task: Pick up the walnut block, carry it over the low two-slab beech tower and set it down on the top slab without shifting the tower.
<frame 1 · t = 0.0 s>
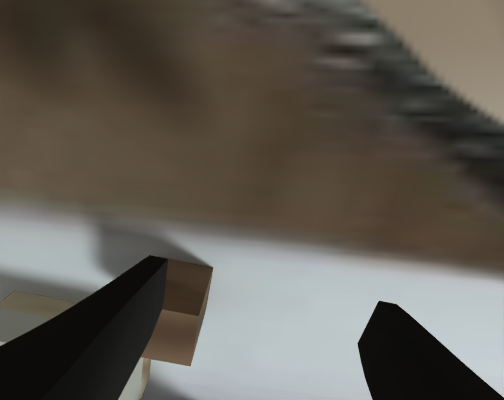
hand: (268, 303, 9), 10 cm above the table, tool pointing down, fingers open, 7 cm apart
walnut block: (182, 284, 22), on the table
slab bottom: (90, 331, 25), on the table, touching slab top
slab top: (72, 356, 22), point 2 cm above the table, touching slab bottom
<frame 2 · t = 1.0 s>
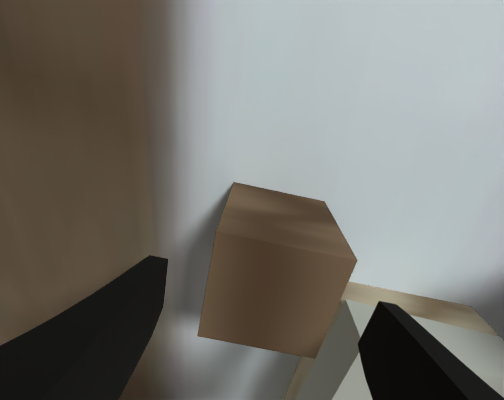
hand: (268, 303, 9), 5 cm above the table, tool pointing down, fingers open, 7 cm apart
walnut block: (268, 231, 14), on the table
slab bottom: (359, 356, 17), on the table, touching slab top
slab top: (372, 395, 15), point 2 cm above the table, touching slab bottom
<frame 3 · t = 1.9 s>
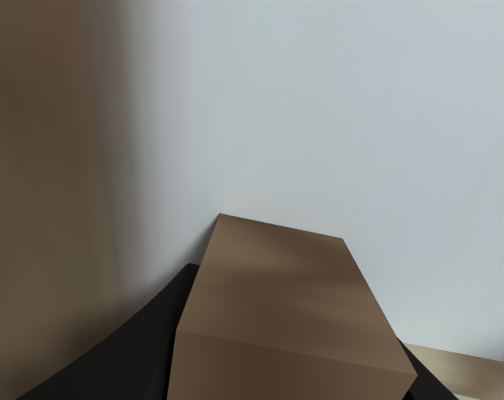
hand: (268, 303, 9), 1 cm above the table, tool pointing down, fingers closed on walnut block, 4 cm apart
walnut block: (267, 276, 10), on the table, touching gripper
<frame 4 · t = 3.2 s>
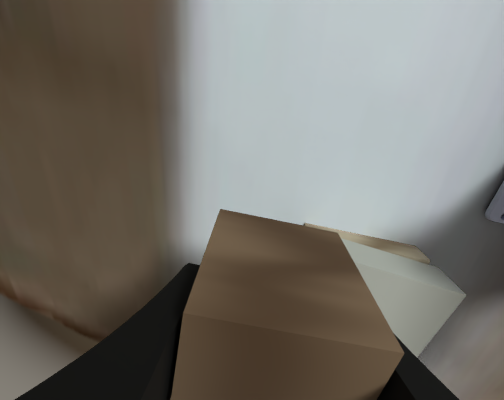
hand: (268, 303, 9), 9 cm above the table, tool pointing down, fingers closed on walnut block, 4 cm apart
walnut block: (266, 269, 11), point 7 cm above the table, touching gripper
slab bottom: (330, 294, 21), on the table
slab top: (340, 318, 19), point 2 cm above the table
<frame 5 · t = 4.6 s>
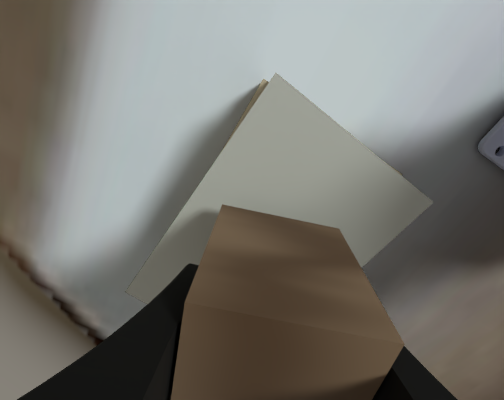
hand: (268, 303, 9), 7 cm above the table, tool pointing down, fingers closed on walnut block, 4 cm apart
walnut block: (267, 265, 11), point 5 cm above the table, touching gripper
slab bottom: (265, 208, 16), on the table, touching slab top
slab top: (263, 225, 14), point 2 cm above the table, touching slab bottom
when the fingers open (7 cm above the table, at t = 4.7 s): walnut block drops 1 cm, point 4 cm above the table.
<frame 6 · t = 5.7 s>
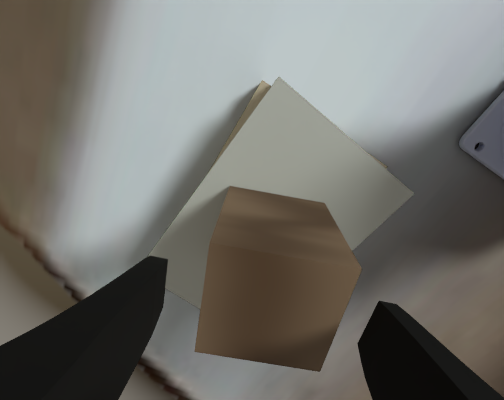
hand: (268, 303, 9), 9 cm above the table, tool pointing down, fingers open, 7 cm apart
walnut block: (267, 235, 13), point 4 cm above the table
slab bottom: (263, 199, 18), on the table, touching slab top
slab top: (263, 214, 15), point 2 cm above the table, touching slab bottom
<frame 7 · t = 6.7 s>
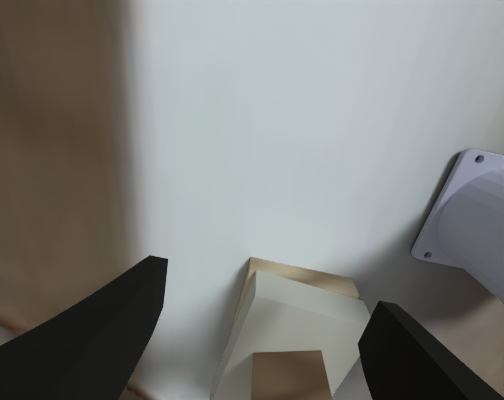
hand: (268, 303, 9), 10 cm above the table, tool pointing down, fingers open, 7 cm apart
walnut block: (288, 375, 18), point 4 cm above the table
slab bottom: (280, 318, 23), on the table, touching slab top
slab top: (281, 343, 21), point 2 cm above the table, touching slab bottom
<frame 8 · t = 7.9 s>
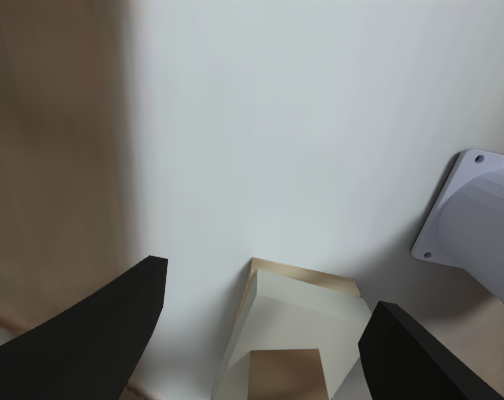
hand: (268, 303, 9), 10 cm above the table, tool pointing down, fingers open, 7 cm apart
walnut block: (285, 373, 18), point 4 cm above the table, touching slab top
slab bottom: (281, 318, 23), on the table, touching slab top
slab top: (282, 343, 21), point 2 cm above the table, touching slab bottom, walnut block
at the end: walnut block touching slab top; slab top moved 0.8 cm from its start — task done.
